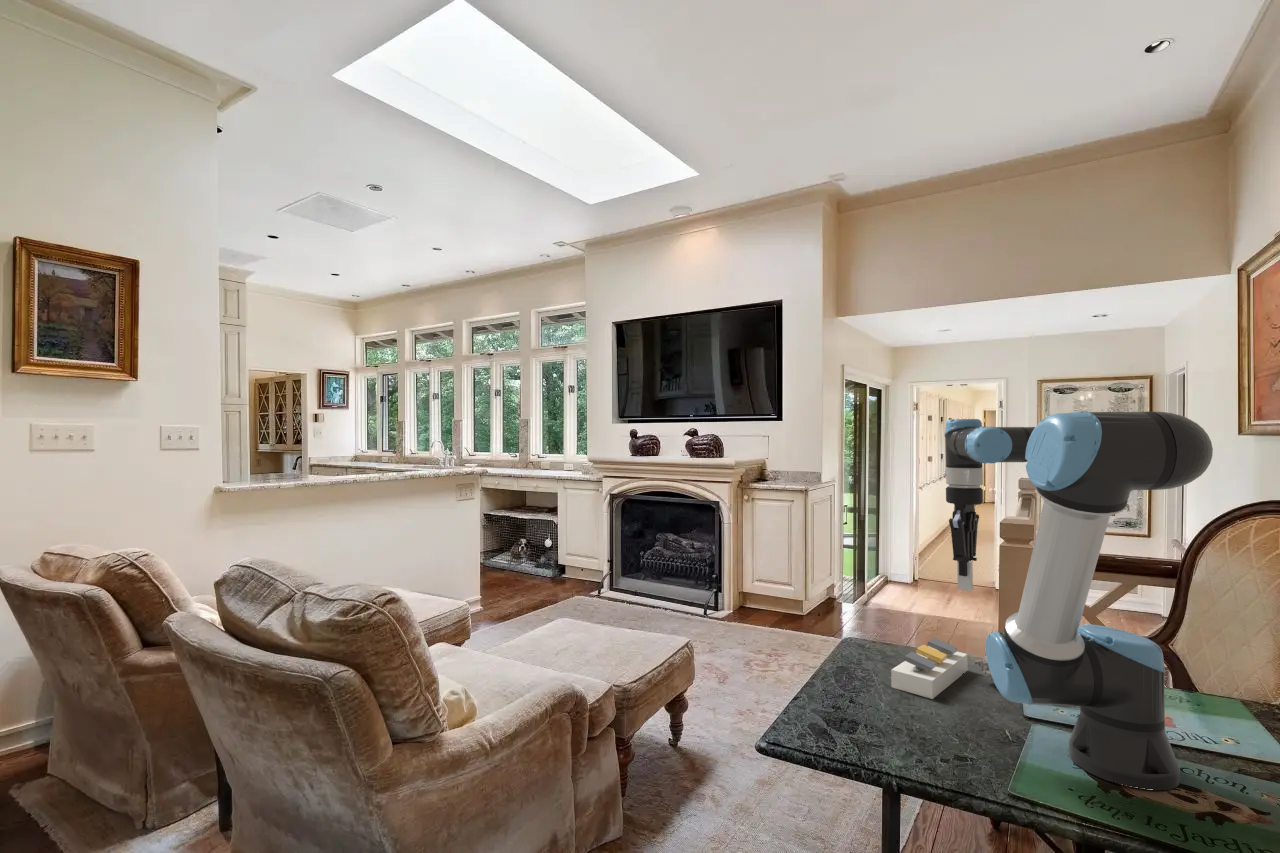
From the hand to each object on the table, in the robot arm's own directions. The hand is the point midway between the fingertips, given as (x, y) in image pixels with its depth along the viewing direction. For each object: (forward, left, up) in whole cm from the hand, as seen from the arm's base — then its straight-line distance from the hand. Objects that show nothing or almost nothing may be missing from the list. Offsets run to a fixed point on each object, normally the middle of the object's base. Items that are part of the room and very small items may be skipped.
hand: (965, 589), depth 140 cm
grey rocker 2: (+8, -7, -18) cm, 20 cm away
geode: (-9, -8, -23) cm, 26 cm away
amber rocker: (+8, 0, -18) cm, 19 cm away
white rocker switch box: (+8, -2, -22) cm, 24 cm away
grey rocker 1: (+8, +7, -18) cm, 21 cm away
